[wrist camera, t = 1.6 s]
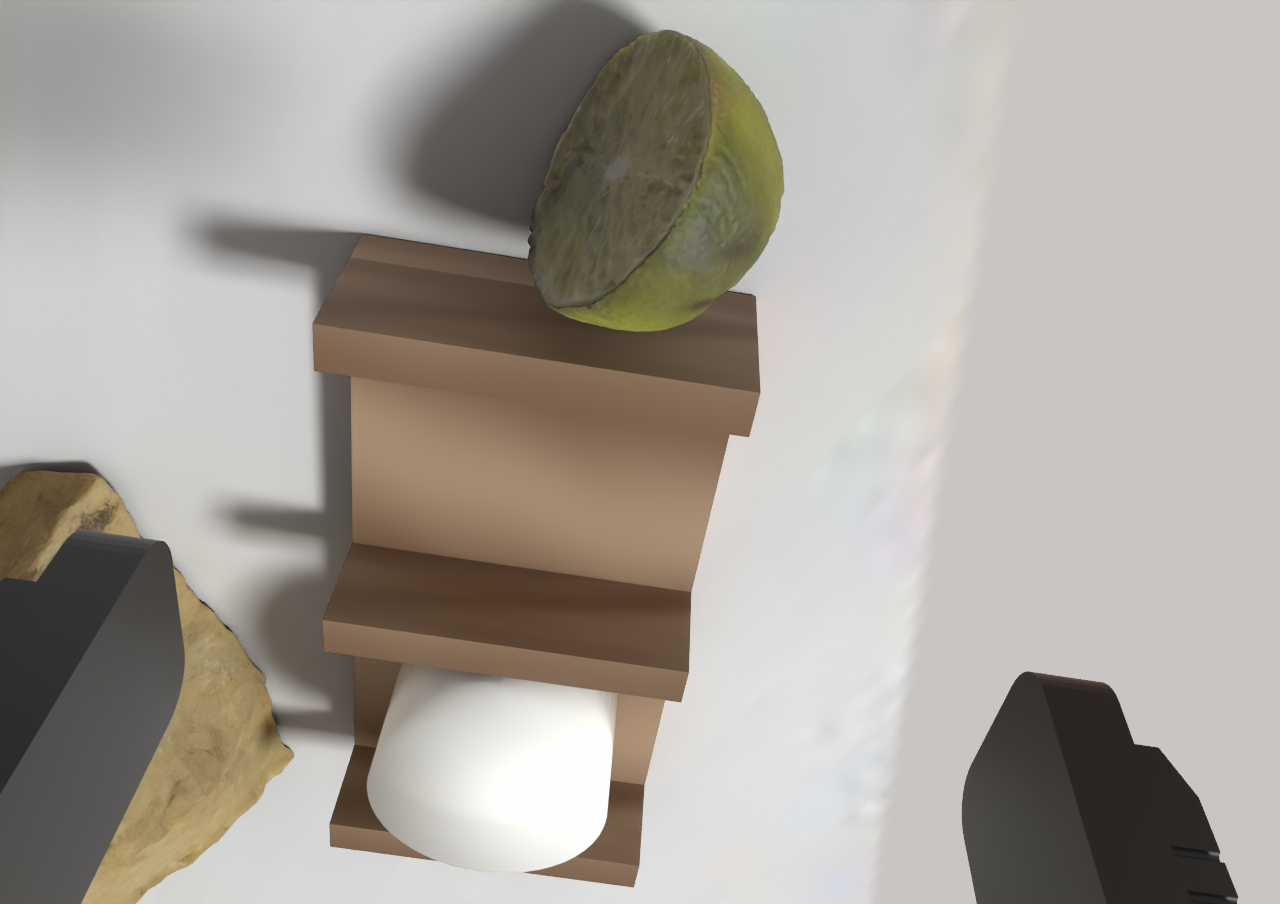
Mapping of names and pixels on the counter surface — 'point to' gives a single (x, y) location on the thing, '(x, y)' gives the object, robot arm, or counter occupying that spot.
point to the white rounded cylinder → (493, 768)
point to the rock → (204, 716)
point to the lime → (656, 190)
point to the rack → (523, 501)
